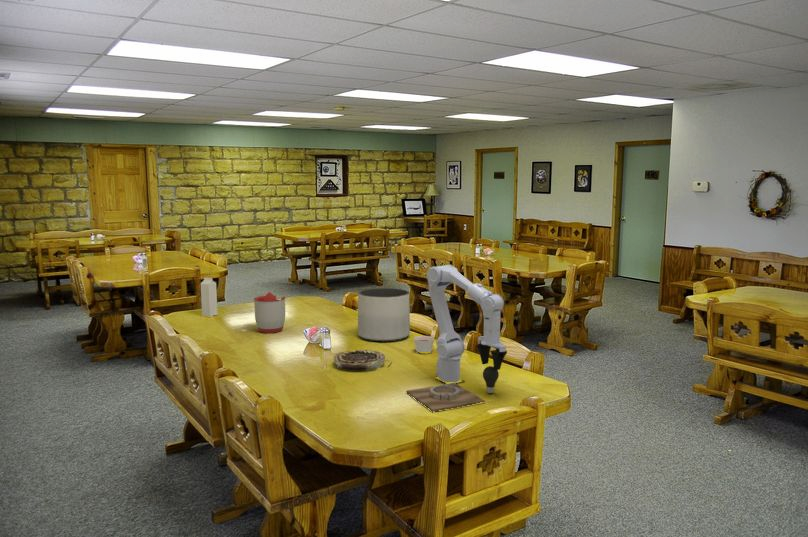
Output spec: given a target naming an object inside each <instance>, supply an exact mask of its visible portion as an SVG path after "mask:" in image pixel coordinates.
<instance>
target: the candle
mask: <svg viewBox="0 0 808 537" xmlns="http://www.w3.org/2000/svg"><path fill="white" fill-rule="evenodd" d="M413 341H414V348H415V352H416V351H417V352H430V351H432V352H433V347H434V342H435V337H433V336H430V335H418V336H414V337H413ZM417 352H416V353H417Z"/></svg>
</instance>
